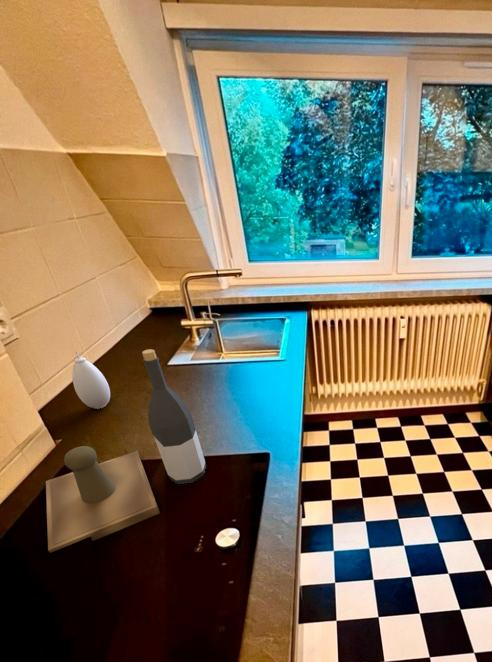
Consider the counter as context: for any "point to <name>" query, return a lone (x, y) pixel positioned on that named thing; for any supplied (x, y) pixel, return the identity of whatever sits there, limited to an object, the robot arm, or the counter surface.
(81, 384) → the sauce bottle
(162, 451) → the wine bottle
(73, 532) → the cutting board
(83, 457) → the pepper mill
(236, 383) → the counter surface
